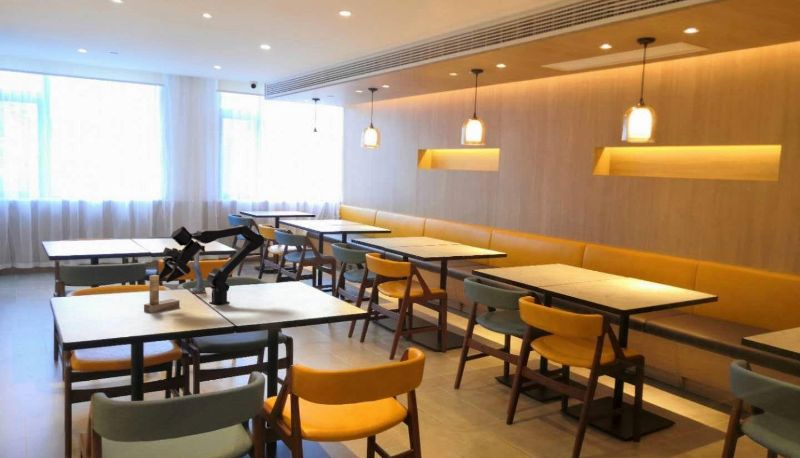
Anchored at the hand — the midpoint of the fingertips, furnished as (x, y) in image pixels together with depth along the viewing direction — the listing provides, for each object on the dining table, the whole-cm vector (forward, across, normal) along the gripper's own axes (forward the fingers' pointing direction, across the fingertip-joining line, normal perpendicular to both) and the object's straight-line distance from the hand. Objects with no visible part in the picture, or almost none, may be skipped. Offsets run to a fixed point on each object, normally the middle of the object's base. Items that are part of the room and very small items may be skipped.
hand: (162, 280), depth 245 cm
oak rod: (+9, 0, +4) cm, 10 cm away
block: (+9, -1, +9) cm, 13 cm away
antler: (-10, -30, +28) cm, 43 cm away
